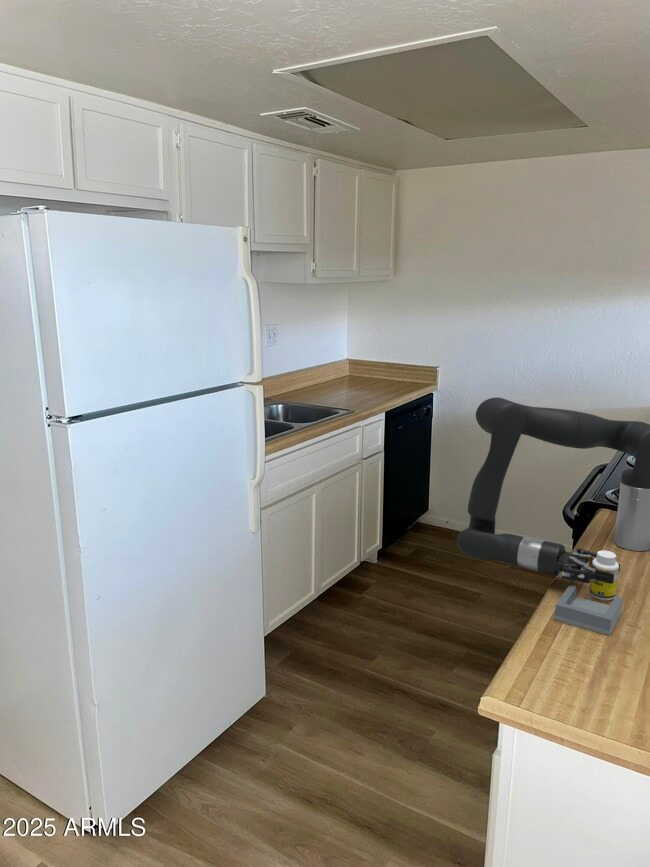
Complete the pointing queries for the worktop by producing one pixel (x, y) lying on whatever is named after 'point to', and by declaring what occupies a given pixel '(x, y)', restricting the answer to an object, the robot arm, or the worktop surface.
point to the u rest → (587, 612)
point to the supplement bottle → (606, 564)
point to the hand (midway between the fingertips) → (616, 573)
